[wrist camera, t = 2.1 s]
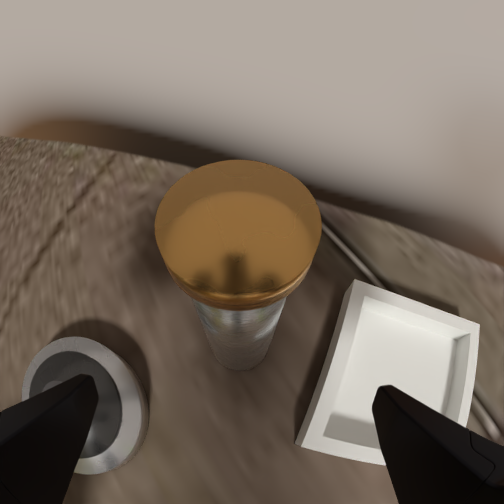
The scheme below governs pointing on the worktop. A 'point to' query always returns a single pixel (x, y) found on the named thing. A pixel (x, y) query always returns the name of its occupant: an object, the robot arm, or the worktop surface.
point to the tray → (387, 369)
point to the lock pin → (238, 250)
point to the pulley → (110, 399)
